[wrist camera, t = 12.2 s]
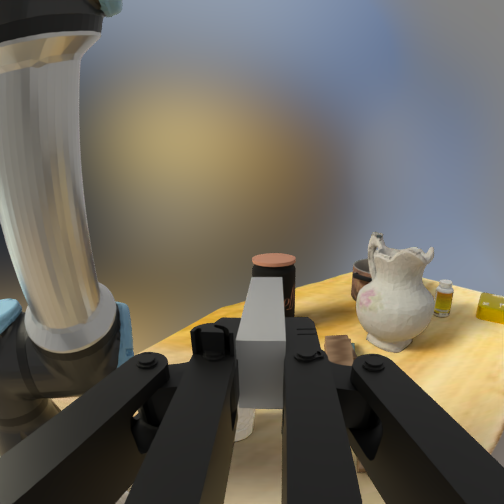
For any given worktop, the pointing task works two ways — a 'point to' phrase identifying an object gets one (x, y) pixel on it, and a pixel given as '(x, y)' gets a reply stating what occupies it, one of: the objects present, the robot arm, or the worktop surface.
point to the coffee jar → (278, 275)
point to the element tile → (491, 308)
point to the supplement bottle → (443, 298)
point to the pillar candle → (122, 498)
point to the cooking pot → (360, 277)
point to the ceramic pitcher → (395, 296)
